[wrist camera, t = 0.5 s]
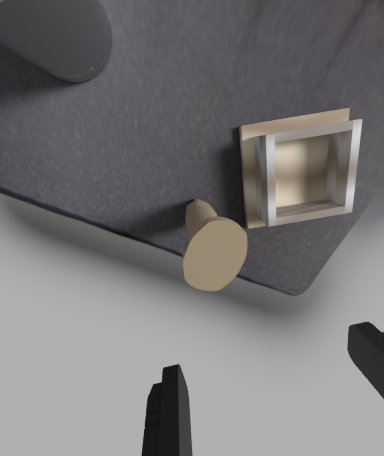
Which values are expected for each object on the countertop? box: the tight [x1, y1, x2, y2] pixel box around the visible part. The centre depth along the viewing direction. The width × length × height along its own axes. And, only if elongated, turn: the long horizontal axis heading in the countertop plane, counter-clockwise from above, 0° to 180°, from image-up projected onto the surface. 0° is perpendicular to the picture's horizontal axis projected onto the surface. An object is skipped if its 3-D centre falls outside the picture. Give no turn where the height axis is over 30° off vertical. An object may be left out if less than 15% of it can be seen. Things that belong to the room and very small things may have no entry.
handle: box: [183, 199, 247, 291], centre depth 25 cm, size 5×6×15 cm
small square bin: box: [239, 108, 362, 229], centre depth 28 cm, size 14×14×5 cm
